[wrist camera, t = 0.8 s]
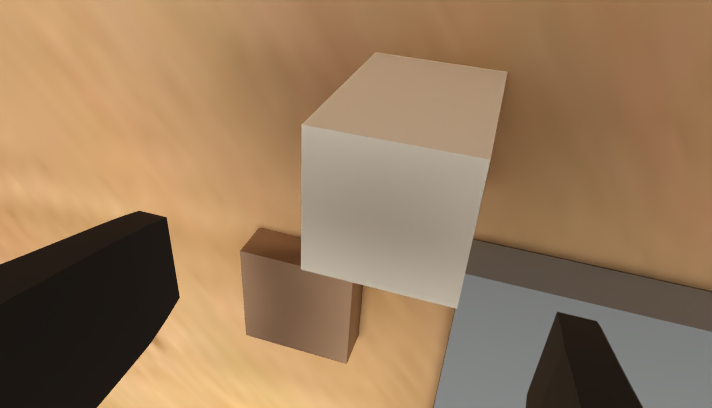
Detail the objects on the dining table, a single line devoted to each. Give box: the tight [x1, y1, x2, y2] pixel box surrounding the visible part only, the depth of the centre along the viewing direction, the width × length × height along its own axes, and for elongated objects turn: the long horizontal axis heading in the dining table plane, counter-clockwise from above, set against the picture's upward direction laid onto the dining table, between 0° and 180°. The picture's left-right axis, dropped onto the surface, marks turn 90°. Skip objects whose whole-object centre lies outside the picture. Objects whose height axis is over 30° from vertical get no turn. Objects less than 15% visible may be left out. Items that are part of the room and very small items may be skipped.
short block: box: [240, 228, 363, 364], centre depth 21 cm, size 4×4×2 cm
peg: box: [301, 52, 508, 309], centre depth 14 cm, size 4×4×6 cm
